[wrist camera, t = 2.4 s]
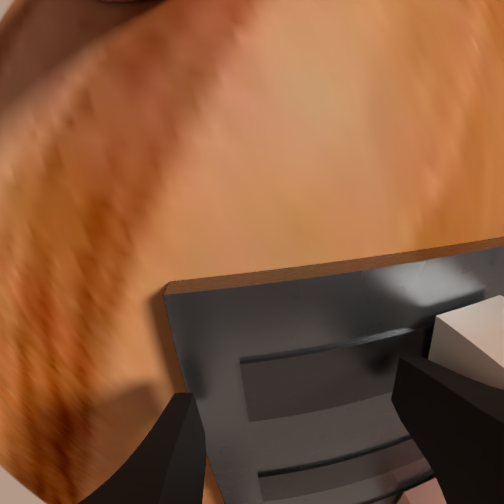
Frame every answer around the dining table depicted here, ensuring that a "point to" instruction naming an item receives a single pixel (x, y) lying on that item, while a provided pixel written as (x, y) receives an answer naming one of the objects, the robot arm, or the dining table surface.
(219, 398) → the slider track board
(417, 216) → the dining table surface
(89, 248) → the dining table surface
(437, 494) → the coral slider
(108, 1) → the supplement bottle
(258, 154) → the dining table surface
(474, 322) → the grey slider
